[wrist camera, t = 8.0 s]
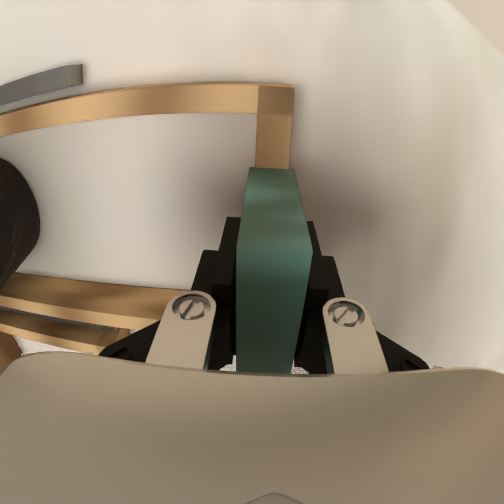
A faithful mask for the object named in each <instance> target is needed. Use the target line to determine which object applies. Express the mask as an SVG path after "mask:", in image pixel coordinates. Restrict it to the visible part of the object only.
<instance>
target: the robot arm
mask: <svg viewBox="0 0 504 504" xmlns="http://www.w3.org/2000/svg"><path fill="white" fill-rule="evenodd" d="M240 222H241V218H240V217H227V219H226V223H225V227H224V231H223V235H222V239H221V243H220V247H219V251H216V250H203V253H202V256H201V259H200V262H199V265H198V268H197V272H196V275H195V278H194V281H193V285H192V288H191V291H185V292H181V293H179V294H177V295H175V296H174V297H172V298H171V299H170V301H169V302H168V304H167V306H166V309H165V311H164V314H163V316H162V319H161V320H159V321H157V322H155V323H153V324H151V325H149V326H147V327H145V328H143V329H141V330H139V331H137V332H135V333H133V334H131V335H129V336H127V337H125V338H123V339H121V340H119V341H117V342H114V343H112V344H110V345H109V346H107V347H106V348H104V349H103V350H102V351H101V352H100V353H99V355H94V352H85V353H74V352H62V351H55V352H38V353H31V354H27V355H23V356H20V357H17V358H16V359H14V360H12V361H11V362H9V363H8V364H7V365H6V366H5V367H4V368H3V369H2V370H1V372H0V504H504V374H503V373H501V372H498V371H494V370H490V369H486V368H476V367H453V368H441V367H437V366H434V367H433V368H432V369H430V368H429V367H428V365H427V364H426V362H424V361H423V360H422V359H421V358H419V357H417V356H416V355H414V354H413V353H411V352H409V351H408V350H406V349H405V348H403V347H401V346H400V345H398V344H396V343H395V342H393V341H392V340H390V339H388V338H387V337H385V336H384V335H382V334H380V333H379V332H377V331H375V328H374V325H373V322H372V319H371V316H370V314H369V312H368V310H367V308H366V307H365V306H364V305H363V304H361V303H360V302H358V301H356V300H353V299H350V298H345V296H344V292H343V288H342V285H341V281H340V278H339V274H338V271H337V267H336V264H335V260H334V258H333V257H332V256H322V255H321V251H320V247H319V243H318V239H317V235H316V231H315V228H314V224H313V221H306V222H307V227H308V231H309V236H310V240H311V245H312V249H313V254H312V260H311V266H310V273H309V279H308V284H307V290H306V296H305V302H304V307H303V313H302V318H301V323H300V329H299V334H298V339H297V344H296V349H295V354H294V367H302V368H303V369H304V370H306V371H307V374H271V373H249V372H232V371H220V369H221V368H222V367H224V366H226V365H227V364H232V361H233V355H236V247H237V241H238V235H239V228H240Z"/></svg>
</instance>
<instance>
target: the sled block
mask: <svg viewBox="0 0 504 504" xmlns="http://www.w3.org/2000/svg"><path fill="white" fill-rule="evenodd" d="M0 331H1V332H4V333H8V334H11V335H15V336H18V337H22V338H25V339H29V340H33V341H37V342H41V343H45V344H49V345H53V346H57V347H61V348H66V349H70V350H75V351H79V352H84V353H85V352H94V355H99V353H100V352H101V351H102V350H103V349H104V348H106V347H107V346H109V345H110V344H112V343H114V342H117V341H119V340H121V339H123V338H125V337H127V336H129V332H128V329H126V328H118V327H117V329H116V331H111V330H105V329H98V328H92V327H86V326H80V325H74V324H69V323H64V322H58V321H53V320H48V319H43V318H38V317H34V316H29V315H24V314H20V313H16V312H11V311H7V310H3V309H0Z"/></svg>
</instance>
